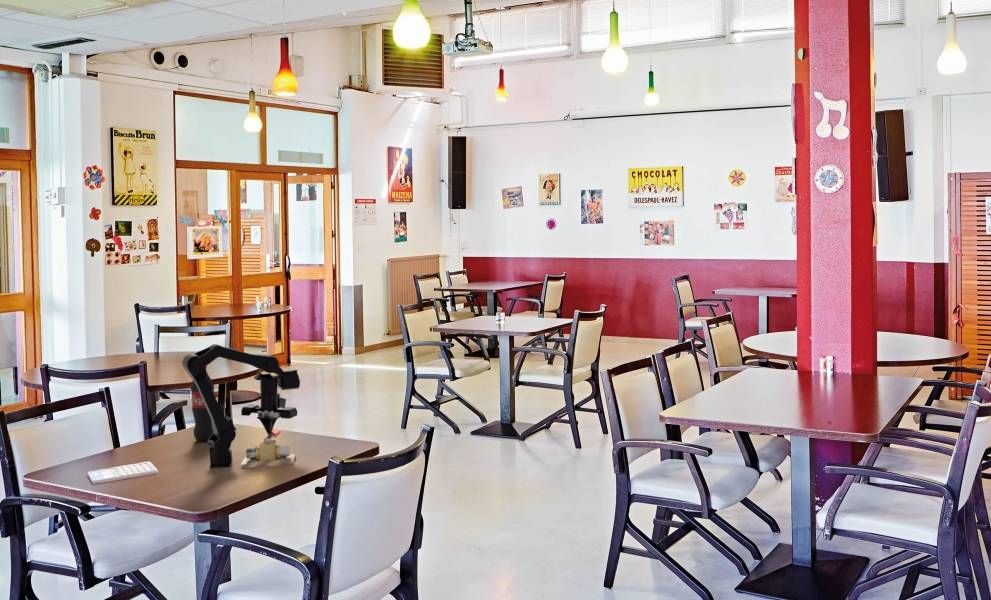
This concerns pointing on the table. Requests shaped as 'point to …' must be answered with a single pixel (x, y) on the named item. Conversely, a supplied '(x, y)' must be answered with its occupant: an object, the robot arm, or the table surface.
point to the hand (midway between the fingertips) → (269, 435)
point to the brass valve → (268, 452)
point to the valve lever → (272, 435)
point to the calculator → (122, 472)
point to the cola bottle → (201, 414)
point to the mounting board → (268, 462)
